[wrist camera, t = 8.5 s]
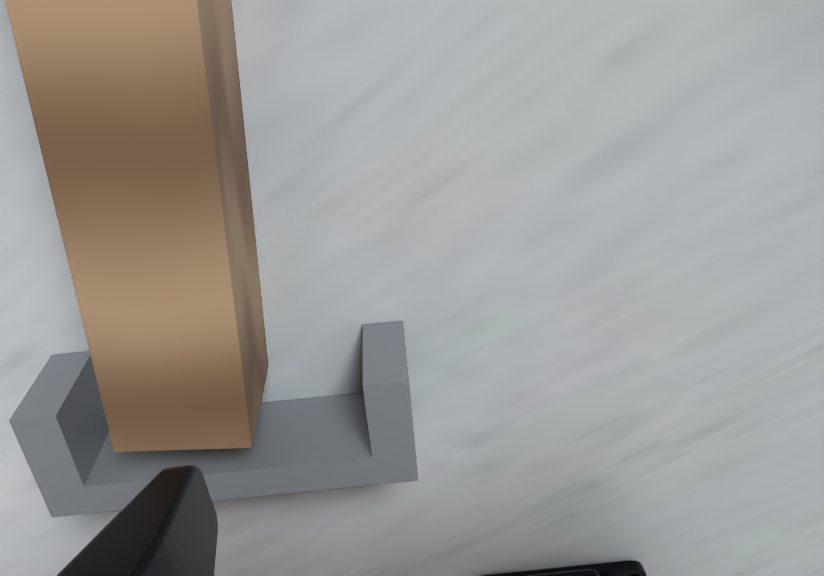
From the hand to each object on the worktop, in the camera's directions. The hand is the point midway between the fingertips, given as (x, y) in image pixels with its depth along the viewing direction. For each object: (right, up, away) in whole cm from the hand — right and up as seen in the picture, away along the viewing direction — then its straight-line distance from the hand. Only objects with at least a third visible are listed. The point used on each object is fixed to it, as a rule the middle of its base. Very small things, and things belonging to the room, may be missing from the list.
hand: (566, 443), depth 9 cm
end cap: (-7, -1, +14) cm, 15 cm away
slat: (-8, +7, +10) cm, 14 cm away
